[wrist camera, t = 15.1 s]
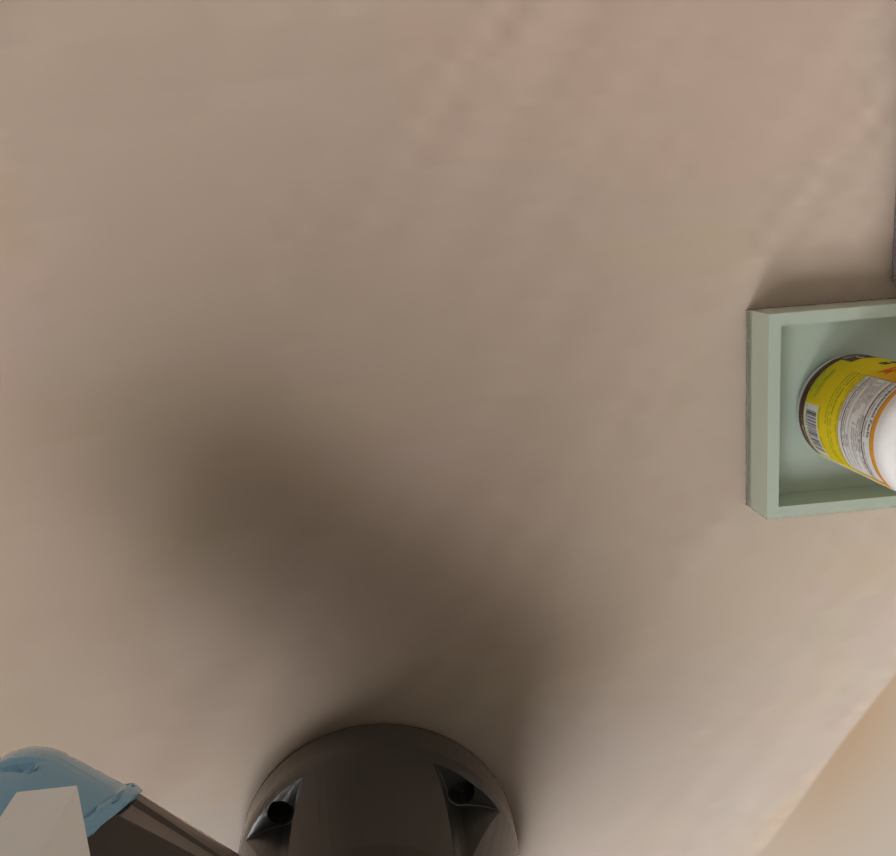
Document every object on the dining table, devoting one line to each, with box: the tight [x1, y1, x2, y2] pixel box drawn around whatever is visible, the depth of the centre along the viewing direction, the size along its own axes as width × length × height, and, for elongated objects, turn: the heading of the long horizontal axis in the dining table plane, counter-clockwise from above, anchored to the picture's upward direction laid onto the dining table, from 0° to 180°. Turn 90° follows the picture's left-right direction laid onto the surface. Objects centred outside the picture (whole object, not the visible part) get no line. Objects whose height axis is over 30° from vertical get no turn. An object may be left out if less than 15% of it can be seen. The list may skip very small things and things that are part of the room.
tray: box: [746, 298, 896, 519], centre depth 43 cm, size 10×10×2 cm
